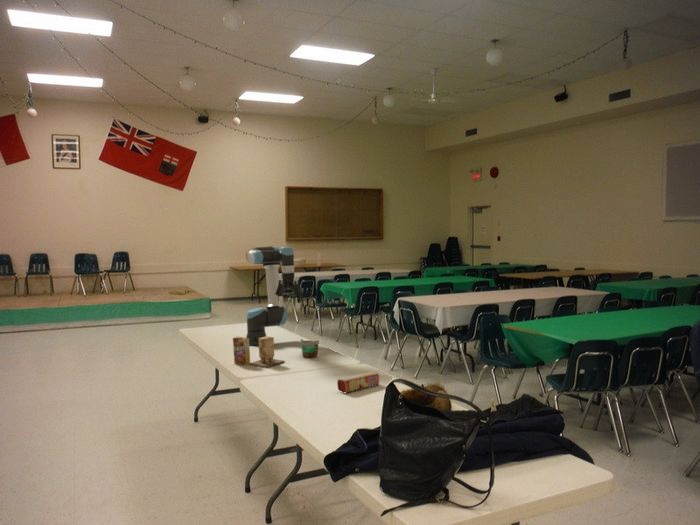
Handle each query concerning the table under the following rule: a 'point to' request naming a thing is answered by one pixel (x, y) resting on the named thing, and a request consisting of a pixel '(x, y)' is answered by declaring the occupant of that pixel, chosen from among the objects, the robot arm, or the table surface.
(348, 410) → the table surface
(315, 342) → the food container
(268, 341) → the oak block
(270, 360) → the peg stand
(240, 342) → the candy box
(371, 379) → the snack package
